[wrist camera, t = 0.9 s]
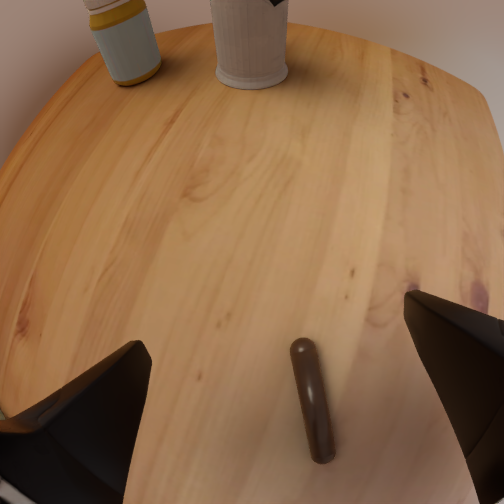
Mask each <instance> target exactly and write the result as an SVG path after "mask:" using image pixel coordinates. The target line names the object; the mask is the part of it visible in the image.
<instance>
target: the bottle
mask: <svg viewBox="0 0 504 504" xmlns="http://www.w3.org/2000/svg"><path fill="white" fill-rule="evenodd" d="M83 1H84V4H85V6H86V8H87V9H88V13H89V15H90V25H89V26H90V28H91V31H92V34H93V36H94V38H95V41H96V43H97V45H98V48H99V50H100V52H101V55H102V57H103V59H104V61H105V64H106V66H107V68H108V70H109V72H110V75H111V77H112V79H113V81H114V82H115V83H116V84H119V85H124V86H130V85H134V84H138V83H140V82H143V81H145V80H147V79H148V78H150V77H151V76H153V75H154V74H155V73H156V72H157V70H158V69H159V67H160V66H161V63H162V60H161V56H160V53H159V49H158V46H157V42H156V39H155V35H154V32H153V28H152V25H151V21H150V18H149V14H148V11H147V7H146V4H145V1H144V0H83Z"/></svg>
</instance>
